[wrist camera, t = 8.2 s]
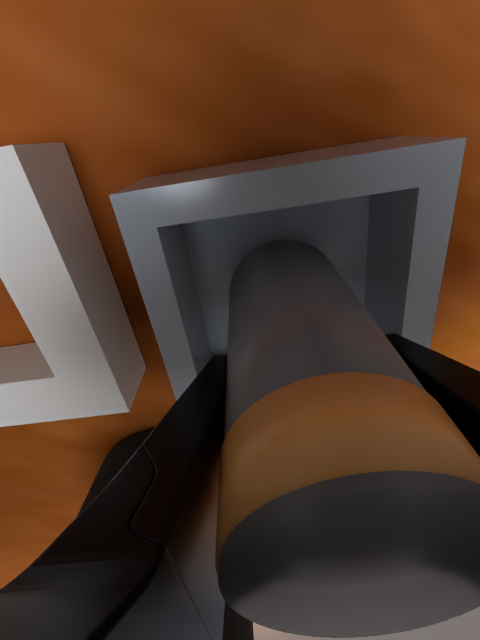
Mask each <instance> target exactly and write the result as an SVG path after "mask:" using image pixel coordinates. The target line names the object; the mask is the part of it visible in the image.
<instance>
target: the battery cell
mask: <svg viewBox="0 0 480 640" xmlns="http://www.w3.org/2000/svg"><path fill="white" fill-rule="evenodd" d="M215 568H216V572H217V576H218V585H219V589H220V593H221V594H222V596H223V598H224V600H225V601H226V602H227V604H228V605H229V606H230V607H231V608H232V609H233V610H235V611H236V612H237V613H238V614H240V615H241V616H243V617H245V618H247V619H248V620H250V621H252V622H255V623H257V624H259V625H262V626H265V627H268V628H271V629H274V630H278V631H282V632H286V633H292V634H298V635H306V636H314V637H330V638H336V637H337V638H348V637H367V636H377V635H385V634H391V633H398V632H403V631H409V630H413V629H417V628H421V627H426V626H429V625H433V624H436V623H439V622H442V621H446V620H448V619H451V618H454V617H457V616H459V615H462V614H464V613H466V612H468V611H471V610H473V609H475V608H477V607H479V606H480V457H479V455H478V454H477V453H476V451H475V450H474V449H473V447H472V446H471V445H470V443H469V442H468V441H467V439H466V438H465V437H464V435H463V434H462V433H461V431H460V430H459V429H458V427H457V426H456V425H455V424H454V422H453V421H452V420H451V418H450V417H449V416H448V414H447V413H446V412H445V410H444V409H443V408H442V406H441V405H440V404H439V403H438V402H437V400H436V399H434V398H433V397H432V396H431V395H430V394H428V393H427V391H426V390H425V389H424V387H423V386H422V385H421V383H420V382H419V381H418V379H417V378H416V377H415V375H414V374H413V372H412V371H411V370H410V368H409V367H408V366H407V364H406V363H405V362H404V360H403V359H402V358H401V356H400V355H399V354H398V352H397V351H396V350H395V348H394V347H393V345H392V344H391V343H390V341H389V340H388V339H387V337H386V336H385V335H384V333H383V332H382V331H381V329H380V328H379V327H378V325H377V324H376V322H375V321H374V320H373V318H372V317H371V316H370V314H369V313H368V312H367V310H366V309H365V308H364V306H363V305H362V304H361V302H360V301H359V299H358V298H357V297H356V295H355V294H354V293H353V291H352V290H351V289H350V287H349V286H348V285H347V283H346V282H345V281H344V279H343V278H342V276H341V275H340V274H339V272H338V271H337V270H336V268H335V267H334V266H333V264H332V263H331V262H330V260H329V259H328V258H327V257H326V255H325V254H324V253H323V252H321V251H320V250H319V249H317V248H316V247H315V246H312V245H310V244H308V243H305V242H302V241H298V240H289V239H284V240H276V241H271V242H268V243H265V244H263V245H261V246H259V247H257V248H255V249H254V250H252V251H251V252H250V253H248V254H247V255H246V256H245V257H244V258H243V259H242V260H241V262H240V263H239V264H238V266H237V267H236V269H235V271H234V273H233V276H232V279H231V283H230V293H229V318H228V343H227V377H226V394H225V419H224V442H223V444H222V449H221V453H220V470H219V491H218V511H217V532H216V552H215Z"/></svg>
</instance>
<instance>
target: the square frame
mask: <svg viewBox="0 0 480 640" xmlns="http://www.w3.org/2000/svg"><path fill="white" fill-rule="evenodd" d="M0 278H1V280H2V281H3V283H4V285H5V287H6V289H7V290H8V292H9V294H10V296H11V298H12V299H13V301H14V303H15V305H16V307H17V309H18V310H19V312H20V314H21V316H22V318H23V319H24V321H25V323H26V325H27V327H28V328H29V330H30V332H31V334H32V336H33V338H34V339H35V341H36V343H28V344H21V345H13V346H6V347H0V427H5V426H14V425H23V424H31V423H40V422H48V421H57V420H66V419H74V418H83V417H91V416H100V415H108V414H117V413H126V412H129V411H130V409H131V406H132V404H133V401H134V398H135V396H136V393H137V391H138V388H139V385H140V383H141V380H142V378H143V375H144V372H145V370H146V365H145V362H144V360H143V357H142V354H141V352H140V349H139V346H138V343H137V341H136V338H135V335H134V332H133V330H132V327H131V324H130V322H129V319H128V316H127V313H126V311H125V308H124V305H123V302H122V300H121V297H120V294H119V291H118V289H117V286H116V283H115V281H114V278H113V275H112V272H111V270H110V267H109V264H108V261H107V259H106V256H105V253H104V250H103V248H102V245H101V242H100V240H99V237H98V234H97V231H96V229H95V226H94V223H93V220H92V218H91V215H90V212H89V209H88V207H87V204H86V201H85V199H84V196H83V193H82V190H81V188H80V185H79V182H78V179H77V177H76V174H75V171H74V168H73V166H72V163H71V160H70V158H69V155H68V152H67V149H66V147H65V144H64V142H59V143H39V144H19V145H8V146H3V147H0Z"/></svg>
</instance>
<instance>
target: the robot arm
mask: <svg viewBox="0 0 480 640" xmlns="http://www.w3.org/2000/svg"><path fill="white" fill-rule="evenodd" d="M384 335H385V336H386V337H387V339H388V340H389V341H390V343H391V344H392V345H393V347H394V348H395V350H396V351H397V352H398V354H399V355H400V356H401V358H402V359H403V360H404V362H405V363H406V364H407V366H408V367H409V368H410V370H411V371H412V372H413V374H414V375H415V377H416V378H417V379H418V381H419V382H420V383H421V385H422V386H423V387H424V389H425V390H426V391H427V393H428V394H430V395H431V396H432V397H433V398H434V399H436V400H437V402H438V403H439V404H440V405H441V406H442V408H443V409H444V410H445V412H446V413H447V414H448V416H449V417H450V418H451V420H452V421H453V422H454V424H455V425H456V426H457V427H458V429H459V430H460V431H461V433H462V434H463V435H464V437H465V438H466V439H467V441H468V442H469V443H470V445H471V446H472V447H473V449H474V450H475V451H476V453H477V454H478V455H479V457H480V372H479V371H477V370H475V369H473V368H471V367H468V366H466V365H464V364H462V363H460V362H457V361H455V360H453V359H451V358H449V357H446V356H444V355H442V354H440V353H438V352H435V351H433V350H431V349H429V348H427V347H424V346H422V345H420V344H418V343H416V342H413V341H411V340H409V339H407V338H405V337H402V336H400V335H398V334H396V333H390V334H384ZM226 377H227V354H224V355H216V356H213V357H212V358H211V359H210V360H209V361H208V363H207V364H206V365H205V366H204V368H203V369H202V370H201V371H200V373H199V374H198V375H197V376H196V378H195V379H194V380H193V381H192V383H191V384H190V385H189V386H188V387H187V389H186V390H185V391H184V392H183V394H182V395H181V396H180V397H179V399H178V400H177V401H176V402H175V404H174V405H173V406H172V407H171V409H170V410H169V411H168V412H167V414H166V415H165V416H164V417H163V419H162V420H161V421H160V422H159V423H158V425H157V426H156V427H155V428H154V430H153V431H152V432H151V433H150V435H149V436H148V437H147V438H146V440H145V441H144V442H143V443H142V446H140V447H139V448H138V449H137V451H136V452H135V453H134V454H133V456H132V457H131V458H130V459H129V460H128V462H127V463H126V464H125V465H124V466H123V467H122V469H121V470H120V471H119V472H118V473H117V475H116V476H115V477H114V478H113V479H112V480H111V481H110V482H109V484H108V485H107V486H106V487H105V488H104V489H103V490H102V491H101V492H100V493H99V494H98V495H97V497H96V498H95V499H94V500H93V501H92V502H91V503H90V504H89V505H88V506H87V507H86V508H85V509H84V510H83V511H82V512H81V513H80V514H79V515H78V516H77V517H76V519H75V520H74V521H73V522H72V523H71V524H70V525H69V526H68V527H67V528H66V529H65V530H64V531H63V532H62V533H61V534H60V535H59V536H58V537H57V538H56V539H55V540H54V541H53V542H52V543H51V545H50V546H49V547H48V548H47V549H46V550H45V551H44V552H43V553H42V554H41V555H40V556H39V557H38V558H37V559H36V560H35V561H34V562H33V563H32V564H31V565H30V566H29V567H28V568H27V569H25V570H24V571H23V572H22V573H21V574H20V575H18V576H17V577H16V578H15V579H13V580H12V581H11V582H10V583H8V584H7V585H6V586H4V587H3V588H1V589H0V640H222V636H223V622H224V608H225V600H224V598H223V596H222V594H221V593H220V589H219V585H218V576H217V572H216V568H215V552H216V532H217V511H218V491H219V470H220V453H221V449H222V444H223V442H224V419H225V394H226Z"/></svg>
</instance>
